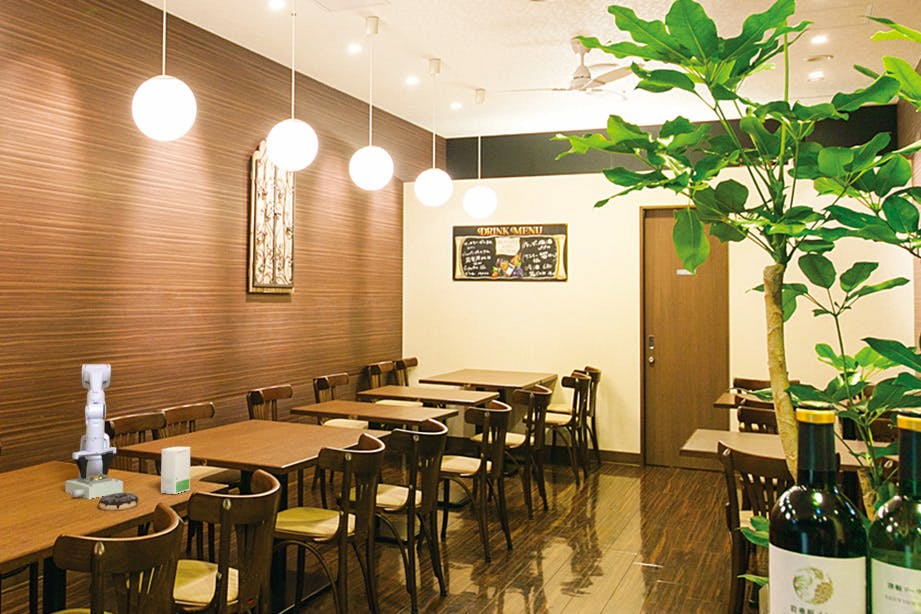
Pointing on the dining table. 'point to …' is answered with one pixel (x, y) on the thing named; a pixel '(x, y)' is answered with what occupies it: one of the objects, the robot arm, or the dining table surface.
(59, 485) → the dining table surface
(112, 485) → the gearbox
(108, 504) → the donut
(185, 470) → the skincare box
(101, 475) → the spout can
